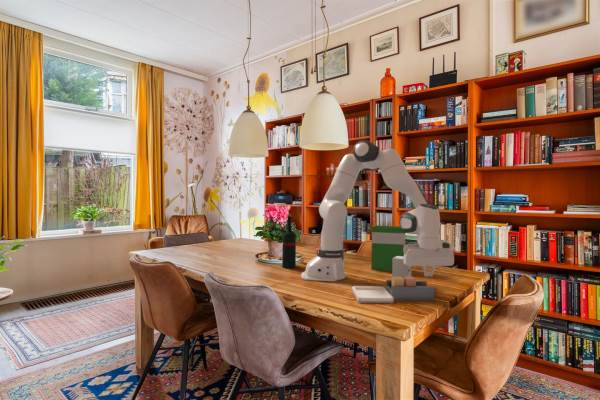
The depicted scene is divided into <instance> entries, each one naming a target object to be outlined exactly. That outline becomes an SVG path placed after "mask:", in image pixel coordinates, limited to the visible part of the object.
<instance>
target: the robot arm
mask: <svg viewBox="0 0 600 400" xmlns="http://www.w3.org/2000/svg"><path fill="white" fill-rule="evenodd" d="M361 171H364V172H366V171H376V172H377V171H380V173H381V176H382V178H383V182H384V184H385V185H386V186H387V187H388V188H390V189H391V190H394V191H397V192H400V193H402V194H405V195H406V197H408V198H409V199H410V200H411V202H412V205H413V206H414V208H413V209H412V210H408V211H405V212H402V213H401V215H400V217H399V220H398V221H399V223H398V224H399V226H400V227H401V229H402V230H403V231H404V232H405V234H417V236H416V243H415V242H414V243H407V244H405V246H404V248H403V252H404V258H403V263H404V264H405V265H406V266H411V267H421V269H422V271H423V276H424V278H425V277H427V278H432V277H433V274H434V272H435V271H436V267H448V266H449V267H452V266H453V265H454V264H455V254H454V251H453V249H452V248H453V244H452V243H451V242H448V241H446V240H443V239H441V235H440V227H441V215H440V211H439V208H438V206H436V205H434V204H431V203H429V202H428V199H427V198H426V196H425V195H424V193H423V190H422V189H421V187H420V185H419V184H418V182H417V181H416V180H415V179H413V177H412V176H411V175H410V174H409V172H408V170H407V169H406V165H405V163H404V161H403V160H402V158H401V156H400V154H399V153H398V152H397V150H395V148H394V149H393V148H387V149H384V150H380V147H379V146H378V145H376V144H375V143H373V142H372V141H368V140H363V139H362V140H359V141H358V142H357V143H356V144H355V145H354V147H353V150H352V153H347V154H345V155H344V156H343V157H342V158H341V160H340V163H339V164H338V165H337V169H336V171H335V173H334V175H333V178H332V181H331V184H330V185H329V188H328V190H327V191H326V193H325V195H324V197H323V199H322V201H321V203H320V205H319V207H318V212H319V215H320V217H321V218H322V219H323V222H322V229H321V232H320V248H318V247H317V248H316V249H315V252H316V256H315V257H314V258H312V259H311V260H310V261H309V262H307V264H306V267H305V270H304V271H302V272H301V275H300V277H301V279H302V280H305V281H321V282H337V281H340V280H343V279H344V280H345V279H346V277H347V276H346V273H345V267H344V266H345V265H344V258H345V250H344V230H345V225H346V218H347V216H348V208H347V207H346V205H345V203H346V202H347V200H348V198H349V197H350V195H351V194H352V191H353V190H354V187H355V184H356V183H357V182H356V181H357V179H358V176H359V173H360V172H361ZM427 267H430V269H429V271H427V270H426V269H427Z"/></svg>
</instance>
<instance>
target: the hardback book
mask: <svg viewBox="0 0 600 400" xmlns="http://www.w3.org/2000/svg"><path fill="white" fill-rule="evenodd" d="M405 245H406V232H404V231H403V230H402V229H401V227H400V225H399V226H395V225H372V226H371V265H370V266H371V268H370V269H371V271H382V272H383V271H384V272H392V262H393V258H394V257H396V256H403V257H404V252H403V248H404V246H405Z"/></svg>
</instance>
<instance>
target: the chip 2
mask: <svg viewBox="0 0 600 400" xmlns="http://www.w3.org/2000/svg"><path fill="white" fill-rule="evenodd" d="M403 279H404V286H416V281H417V278H415V277H414V276H411V277H409V276H403Z"/></svg>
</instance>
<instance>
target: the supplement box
mask: <svg viewBox="0 0 600 400" xmlns="http://www.w3.org/2000/svg"><path fill="white" fill-rule="evenodd" d="M403 258H404V257H403V256H396V257H394V258H393V262H392V271H391V272H392V273H391V277H392V276H401V277H402V278H403V276H409V277H412V266H406V265H405V264H404V263H403Z"/></svg>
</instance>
